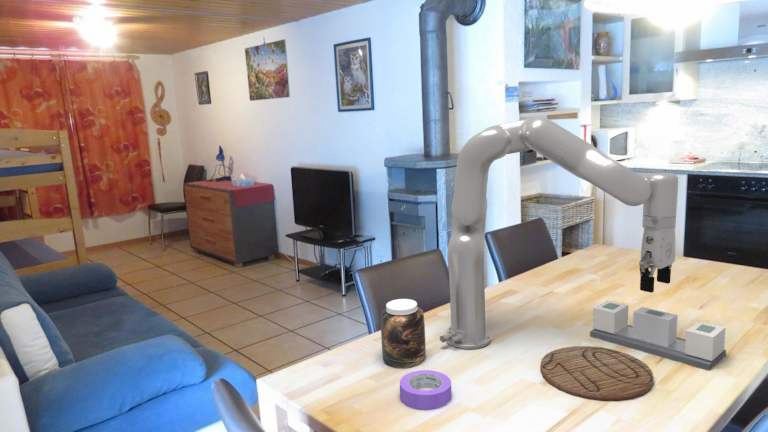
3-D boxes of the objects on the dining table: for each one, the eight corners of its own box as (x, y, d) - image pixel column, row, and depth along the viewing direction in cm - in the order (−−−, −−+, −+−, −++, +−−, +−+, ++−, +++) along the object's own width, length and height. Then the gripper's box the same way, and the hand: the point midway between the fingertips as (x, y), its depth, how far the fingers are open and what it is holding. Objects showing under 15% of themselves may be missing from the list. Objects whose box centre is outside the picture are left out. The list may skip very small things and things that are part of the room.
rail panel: (709, 370, 128) (709, 363, 128) (590, 336, 151) (590, 329, 150) (725, 355, 135) (726, 348, 135) (609, 324, 158) (609, 318, 157)
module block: (668, 346, 138) (669, 319, 136) (632, 336, 144) (633, 311, 143) (676, 340, 141) (677, 314, 139) (641, 331, 147) (642, 306, 146)
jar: (376, 353, 147) (372, 301, 144) (415, 345, 151) (413, 294, 148) (391, 372, 136) (388, 315, 133) (433, 362, 140) (431, 307, 137)
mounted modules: (711, 361, 129) (713, 336, 128) (592, 328, 151) (593, 307, 150) (724, 350, 134) (725, 326, 133) (607, 320, 156) (607, 299, 155)
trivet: (582, 412, 114) (582, 404, 114) (520, 362, 138) (520, 355, 138) (678, 390, 121) (679, 382, 121) (604, 346, 145) (604, 339, 144)
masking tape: (447, 383, 129) (447, 368, 129) (455, 408, 118) (455, 392, 117) (398, 386, 129) (397, 371, 128) (402, 412, 118) (401, 396, 117)
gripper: (659, 229, 128) (655, 298, 132) (688, 218, 139) (684, 282, 143) (628, 225, 134) (625, 291, 137) (658, 215, 145) (654, 276, 148)
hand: (655, 286), depth 140 cm, fingers open, 9 cm apart
